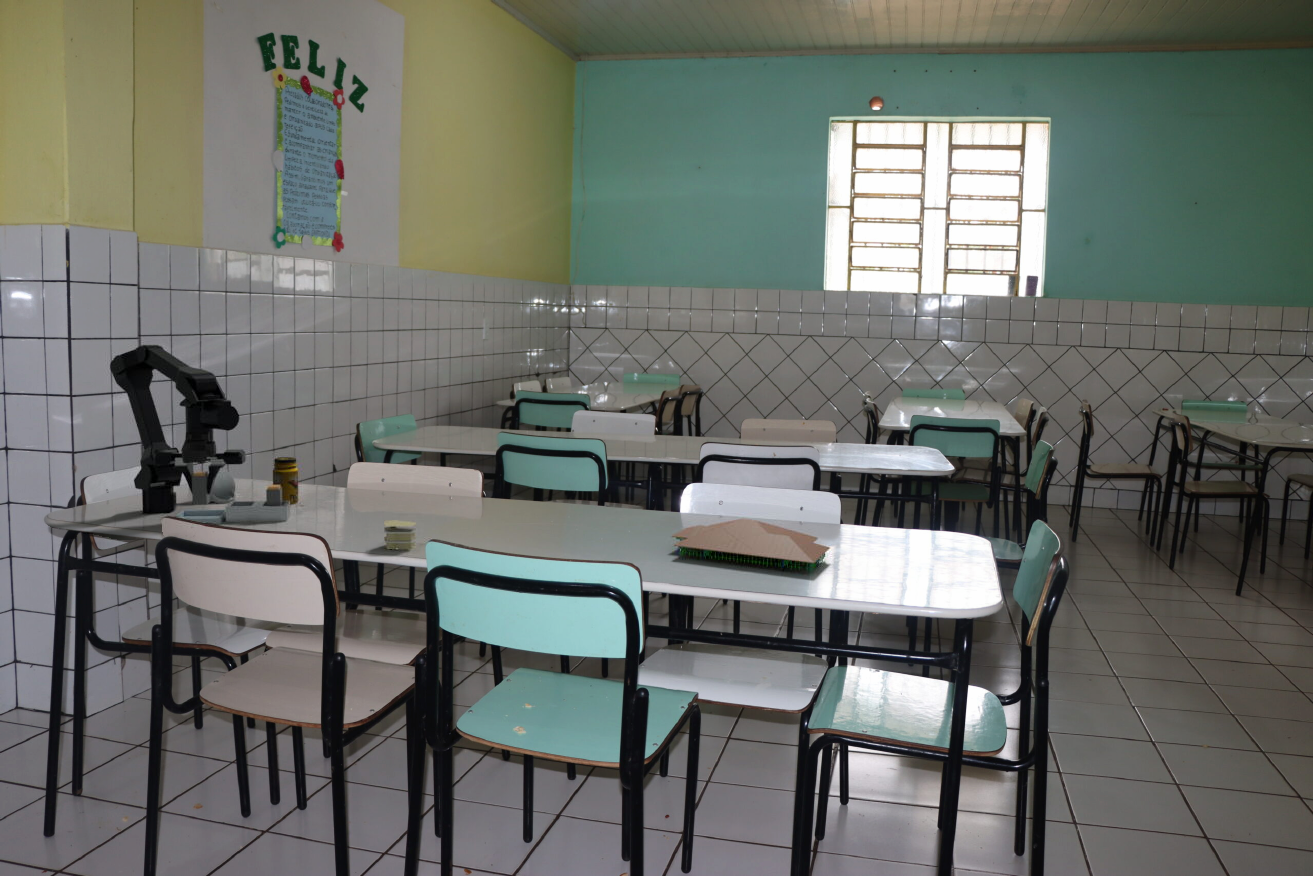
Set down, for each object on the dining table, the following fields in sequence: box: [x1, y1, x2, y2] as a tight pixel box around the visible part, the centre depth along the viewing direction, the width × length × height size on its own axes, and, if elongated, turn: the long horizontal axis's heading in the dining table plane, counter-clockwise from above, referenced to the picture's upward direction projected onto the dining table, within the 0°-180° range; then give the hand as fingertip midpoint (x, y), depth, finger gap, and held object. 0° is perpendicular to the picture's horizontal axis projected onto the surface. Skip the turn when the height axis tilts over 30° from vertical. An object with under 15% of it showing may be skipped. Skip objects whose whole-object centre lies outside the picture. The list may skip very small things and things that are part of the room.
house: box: [670, 518, 831, 572], centre depth 214 cm, size 23×33×8 cm
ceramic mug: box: [208, 469, 236, 504], centre depth 250 cm, size 11×8×8 cm
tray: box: [176, 509, 226, 525], centre depth 228 cm, size 10×10×2 cm
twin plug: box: [265, 484, 282, 506], centre depth 232 cm, size 3×4×7 cm
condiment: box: [272, 456, 305, 507], centre depth 250 cm, size 7×8×12 cm
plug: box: [191, 470, 210, 506], centre depth 227 cm, size 3×4×7 cm
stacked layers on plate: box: [383, 519, 418, 550], centre depth 210 cm, size 10×9×6 cm
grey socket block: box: [225, 500, 291, 523], centre depth 231 cm, size 13×7×4 cm, turn 104°
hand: (201, 494), depth 227 cm, fingers closed on plug, 3 cm apart
